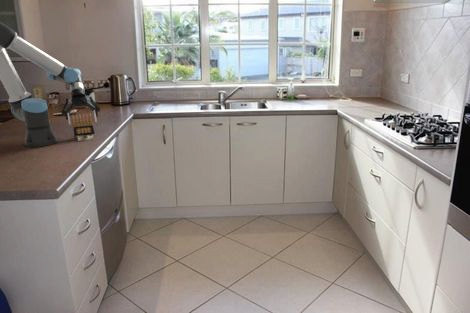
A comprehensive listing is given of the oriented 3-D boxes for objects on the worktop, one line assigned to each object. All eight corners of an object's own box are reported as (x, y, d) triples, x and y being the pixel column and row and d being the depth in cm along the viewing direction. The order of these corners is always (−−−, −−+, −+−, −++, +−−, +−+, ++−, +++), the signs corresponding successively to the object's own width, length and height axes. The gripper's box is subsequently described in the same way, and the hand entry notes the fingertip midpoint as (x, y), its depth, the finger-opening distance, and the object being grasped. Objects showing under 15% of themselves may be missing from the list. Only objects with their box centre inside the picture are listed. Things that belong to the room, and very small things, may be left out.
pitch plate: (78, 141, 207) (77, 137, 206) (76, 134, 222) (76, 131, 221) (93, 139, 210) (93, 135, 209) (91, 133, 225) (90, 129, 224)
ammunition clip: (94, 133, 218) (91, 112, 214) (94, 133, 216) (91, 112, 213) (74, 135, 215) (70, 114, 211) (74, 136, 213) (70, 114, 209)
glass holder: (92, 108, 310) (90, 90, 306) (77, 108, 314) (74, 90, 309) (98, 106, 319) (96, 88, 314) (83, 106, 322) (81, 88, 318)
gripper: (100, 94, 228) (106, 123, 219) (54, 98, 219) (59, 129, 210) (100, 86, 222) (106, 116, 213) (53, 89, 213) (57, 121, 204)
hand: (83, 122), depth 212 cm, fingers open, 13 cm apart
